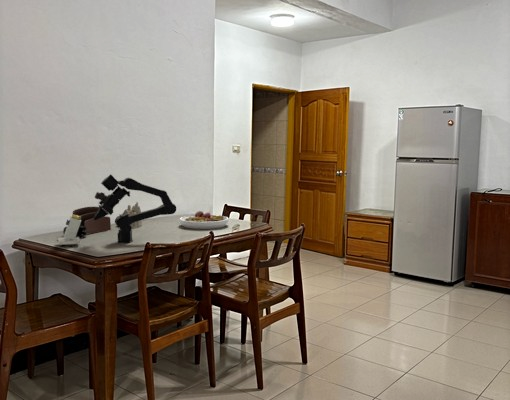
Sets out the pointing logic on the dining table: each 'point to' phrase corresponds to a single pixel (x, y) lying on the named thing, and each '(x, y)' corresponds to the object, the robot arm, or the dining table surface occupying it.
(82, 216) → the letter holder
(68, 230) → the brushed metal block
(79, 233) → the end cap
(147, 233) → the dining table surface
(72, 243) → the gray rectangular block
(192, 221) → the bowl
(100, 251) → the dining table surface
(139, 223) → the ceramic cottage
